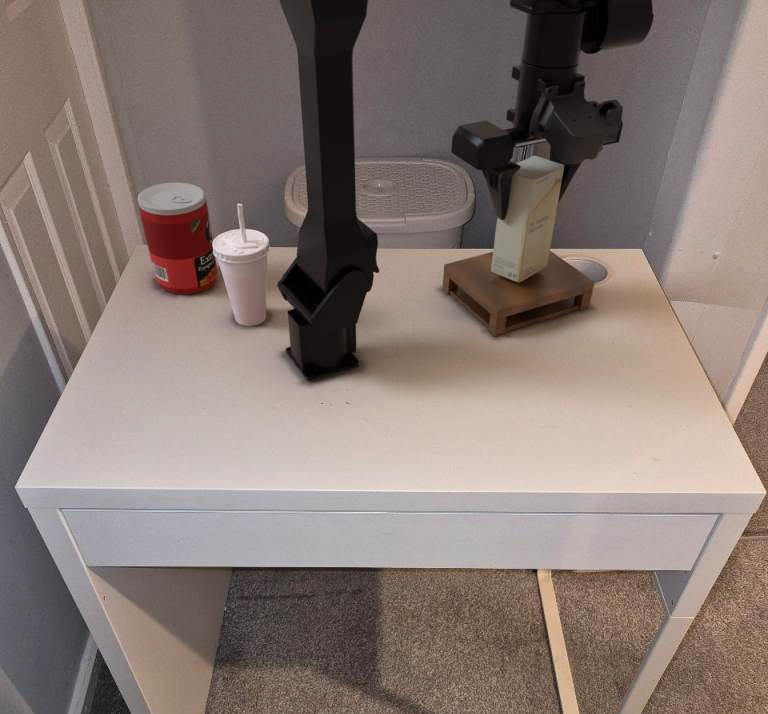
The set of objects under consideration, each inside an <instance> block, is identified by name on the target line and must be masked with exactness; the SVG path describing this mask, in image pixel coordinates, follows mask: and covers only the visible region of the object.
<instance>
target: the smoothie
mask: <svg viewBox="0 0 768 714" xmlns="http://www.w3.org/2000/svg"><path fill="white" fill-rule="evenodd" d="M236 208H237V217H238V223H239V228H237V229H231V230H227V231H225V232H222V233H220V234H218V235H217V236H216V237H215V238H214V239H213V243H212V246H213V254H214V256H215V258H216V259H217V261H218V265H219V269H220V271H221V274H222V279H223V282H224V285H225V288H226V292H227V296H228V298H229V303H230V306H231V309H232V312H233V313H232V314H233V317H234V319H235V321H236V323H237V324H239V325H242V326H246V327H253V326H258V325H261V324H262V323H264V322H265V321H266V319H267V293H268V292H267V289H268V254H269V252H270V251H271V245H270V240H269V237H268V236H267V235H266V234H265V233H264V232H262V231H259V230H255V229H251V228H246V224H245V216H244V208H243V204H242V203H237V204H236Z"/></svg>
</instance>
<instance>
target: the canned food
mask: <svg viewBox="0 0 768 714" xmlns="http://www.w3.org/2000/svg"><path fill="white" fill-rule="evenodd" d="M137 202H138V203H137V204H138V210H139V214H140V219H141V223H142V228H143V232H144V236H145V241H146V244H147V245H146V246H147V248H148V253H149V257H150V261H151V265H152V266H151V267H152V271H153V275H154V278H155V280H156V282H157V284H158V286H159V288H161V289H162V290H164V291H166V292H169V293H171V294H176V295H190V294H197V293H200V292H203V291H206V290H208V289H210V288H211V287H212V286H214V285H215V283H216V282H217V278H218V273H219V272H218V267H217V265H218V264H217V260H216V259H217V258H216V257H215V256H214V254H213V246H212V243H213V240H214V239H213V234H212V227H211V221H210V214H209V209H208V203H207V197H206V194H205V191H204V190H203V189H202V188H201V187H199V186H197V185H195V184H192V183H188V182H187V183H186V182H164V183H158V184H155V185H152V186H149V187H147V188H145V189H143V190H142V191H140V193H139V194H138V196H137Z"/></svg>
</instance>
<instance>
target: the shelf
mask: <svg viewBox="0 0 768 714" xmlns="http://www.w3.org/2000/svg"><path fill="white" fill-rule="evenodd" d="M492 258H493V251H491V252H487V253H482V254H479V255H475V256H471V257H468V258H463V259H460V260H455V261H452V262H449V263H444V264H443V274H442V275H443V277H442V291H443V292H444V293H445V294H447V296H450V297H452V298H453V299H454V300H455V301H456V302H457V303H458V304H460V306H462V307H463V308H464V309H465V310H466V311H467V312H468V313H469V314H471V315H472V316H473V317H474V318H475V319H477V321H478V322H480V323H481V324H482V325H483V326H484V327H485V328H486V329H488V332H489V333H490V334H491V335H492V336H494V337H498V336H501V335H504V334H505V333H508V332H511V331H513V330H514V331H515V330H517V329H520V328H525V327H528V326H530V325H533V324H537V323H540V322H543V321H547V320H550V319H553V318H556V317H560V316H563V315H567V314H569V313H572V312H576V311H582V310H586V309H589V308H590V305H591V300H592V297H593V290H594V287H595V284H596V283H595V281H594V280H592V279H591V278H590V277H588V276H587V275H585V273H583V272H581V271H580V270H578V269H577V268H576V267H574V266H572V265H571V264H570V263H568V262H567V261H566V260H564V259H563V258H562V257H560V256H559V255H557V254H556V253H555V252H553V251H551V250H550V253H549V258H548V264H547V266H546V267H545V268H544V269H542V270H540V271H539V272H537V273H535V274H533V275H532V276H530V277H528V278H527V279H525V280H523V281H522V282H520V283H518V282H516V281H513V280H510V279H508V278H505V277H503V276H501V275H498V274H496V273H494V272H491V266H492Z"/></svg>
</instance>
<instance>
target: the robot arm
mask: <svg viewBox="0 0 768 714" xmlns="http://www.w3.org/2000/svg"><path fill="white" fill-rule="evenodd" d="M279 4H280V7H281V9H282V12H283V15H284V17H285V20H286V22H287V25H288V28H289V30H290V33H291V35H292V38H293V41H294V44H295V46H296V52H297V66H298V68H297V69H298V80H299V81H298V82H299V83H298V84H299V94H300V95H299V96H300V109H301V110H300V111H301V112H300V113H301V125H302V138H303V139H302V141H303V153H304V168H305V169H304V170H305V183H306V197H307V212H306V214H305V216H304V218H303V221H302V223H301V225H300V228H299V231H298V234H297V244H296V245H297V246H296V248H297V249H296V256H295V259H294V260H293V262H291V264H290V265H289V266H288V268H287V270H286V271H285V272H284V274H283V275H282V276H281V278H280V279H279V280H278V282H277V284H276V287H277V289H278V290H279V292H280V294H281V296H282V298H283V299H284V300H285V301H286V302H287V303H289V305H290V306H291V307H292V309H288V310H287V322H288V333H289V334H288V335H289V345H290V346H288V347H286V348H285V354H286V356H287V357H288V358H289V359H290V361H291V362H292V363H293V365H294V366H295V367H296V369H297V370H298V371H299V373H300V374H301V375H302V376H303V378H304V379H305V380H306V381H308V382H312V381H316V380H320V379H322V378H326V377H329V376H332V375H336V374H339V373H342V372H346V371H349V370H352V369H355V368H358V367H360V365H361V364H360V360H359V359H358V358H357V356H356V355H355V353H357V351H358V349H357V325H358V322H359V318H360V315H361V312H362V310H363V309H362V308H363V306H364V302H365V299H366V296H367V293H370V292H371V290H372V289H373V288H372V287H373V286H374V280H375V279H374V278H375V273H376V274H379V273H380V269H379V266H378V262H377V252H378V247H379V239H378V238H379V237H378V233H376V231H374V230H373V229H372V228H371V227H369V225H367V224H366V223H364V222H363V221H362V220H361V219H359V218H358V214H357V195H356V194H357V192H356V191H357V190H356V187H357V186H356V150H355V147H356V145H355V106H354V105H355V104H354V103H355V100H354V97H355V96H354V59H353V57H354V56H353V55H354V49H355V46H356V43H357V41H358V39H359V36H360V33H361V30H362V28H363V26H364V24H365V21H366V18H367V16H368V7H369V0H279ZM509 7H510V8H512V9H514V10H516V11H519V12H522V13H525V14H526V22H525V30H524V38H523V45H522V53H521V59H520V64H519V65H514V66H512V69H511V78H512V79H513V80H515V81H518V83H517V90H516V91H517V92H516V99H515V105H514V107H513V108H509V109H507V110H506V118H505V119H506V121H508V122H509V123H510V124H512V128H507V129H505V128H504V129H503V128H500V127H499V126H497V125H495V124H494V123H492V122H490V121H489V120H482V121H475V122H469V123H463V124H460V125H458V127H457V128H456V129H455V130H453V131H454V132H453V134H452V137H451V150H450V151H451V152H450V153H451V154H453V155H455V156H456V157H458V159H460V160H461V161H463V162H465V163H466V164H468V165H469V166H471V167H473V168H474V170H477V171H481V172H482V175H483V177H484V180H485V182H486V186H487V188H488V191H489V196H490V198H491V201H492V205H493V208H494V211H495V214H496V217H498V218H499V219H501V220H504V219H505V217H506V214H507V210H508V204H509V197H510V190H511V182H512V177H513V175H514V174H515V173H516V172H517V171H518V170H519V169H520V168H521V166H519V165H518V164H516V163H517V162H515V161H514V156H515V150H516V149H517V148H523V147H528V146H533V145H537V144H543V143H548V145H549V160H550V161H553V162H556V163H560V164H563V165H564V171H563V177H562V183H561V188H560V194H559V200H558V205H559V203H560V202H561V200H562V198H563V196H564V194H565V192H566V191H567V189H568V187H569V185H570V183H571V181H572V180H573V178H574V176H575V175H576V173H577V172H578V170H579V168H580V166H581V165H582V164H583V162H585V161H586V160H589V161H590V160H591V161H592V160H595V159H597V157H599V154H600V153H601V152H602V151H603V149H604V147H603V146H609V145H613V144H618V143H619V142H620V139H621V136H622V131H623V128H624V127H623V126H624V123H623V120H622V118H623V113H624V112H623V111H624V106H622V104H621V103H620V101H618V99H610V100H605V101H601V102H598V101H597V100H587V99H586V98H585V88H586V81H585V78H586V76H585V75H583V74H581V73H579V72H578V71H579V70H578V69H579V64H580V59H581V53H584V54H587V55H595V54H600V53H601V54H602V53H607V52H612V51H617V50H624V49H629V48H635V47H636V46H639V45H640V44H641V43H643V42H644V41H645V39H646V38H647V36H648V35H649V33H650V31H651V28H652V27H653V26H652V25H653V23H654V17H655V15H654V11H653V9H654V8H653V7H654V5H653V0H509Z"/></svg>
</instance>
